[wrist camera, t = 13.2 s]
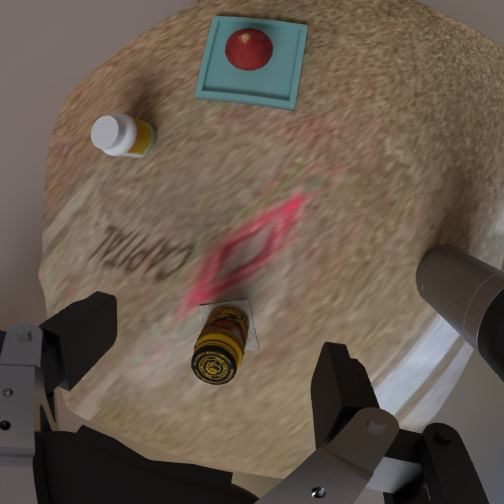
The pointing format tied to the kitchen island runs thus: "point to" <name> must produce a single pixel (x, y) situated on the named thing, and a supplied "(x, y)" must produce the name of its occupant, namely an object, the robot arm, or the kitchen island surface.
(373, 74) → the kitchen island surface
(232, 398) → the kitchen island surface
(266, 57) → the dark red rounded piece
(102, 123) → the supplement bottle
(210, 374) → the condiment
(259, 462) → the kitchen island surface
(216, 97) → the tray
